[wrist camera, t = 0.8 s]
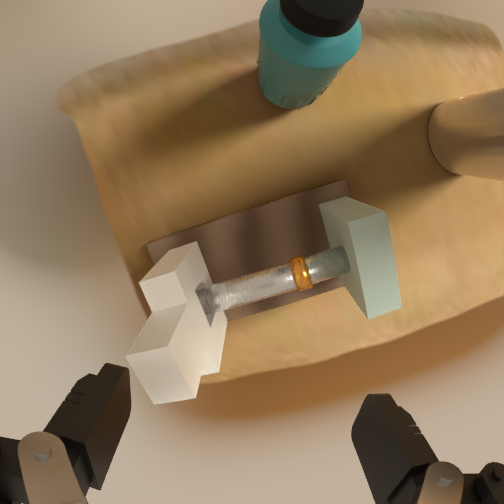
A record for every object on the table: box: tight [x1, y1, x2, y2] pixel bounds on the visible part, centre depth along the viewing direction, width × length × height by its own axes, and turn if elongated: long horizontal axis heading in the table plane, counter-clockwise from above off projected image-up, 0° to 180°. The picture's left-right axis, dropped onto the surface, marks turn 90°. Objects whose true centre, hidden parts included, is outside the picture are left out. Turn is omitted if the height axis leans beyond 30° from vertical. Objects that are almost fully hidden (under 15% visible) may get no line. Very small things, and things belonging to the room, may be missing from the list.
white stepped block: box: [125, 241, 227, 404], centre depth 24 cm, size 3×9×15 cm, turn 18°
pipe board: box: [146, 180, 351, 321], centre depth 34 cm, size 22×11×2 cm, turn 108°
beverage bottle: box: [257, 0, 364, 110], centre depth 20 cm, size 6×7×20 cm
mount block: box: [319, 196, 402, 320], centre depth 27 cm, size 3×8×10 cm, turn 18°
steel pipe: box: [195, 245, 350, 316], centre depth 27 cm, size 18×3×3 cm, turn 108°
